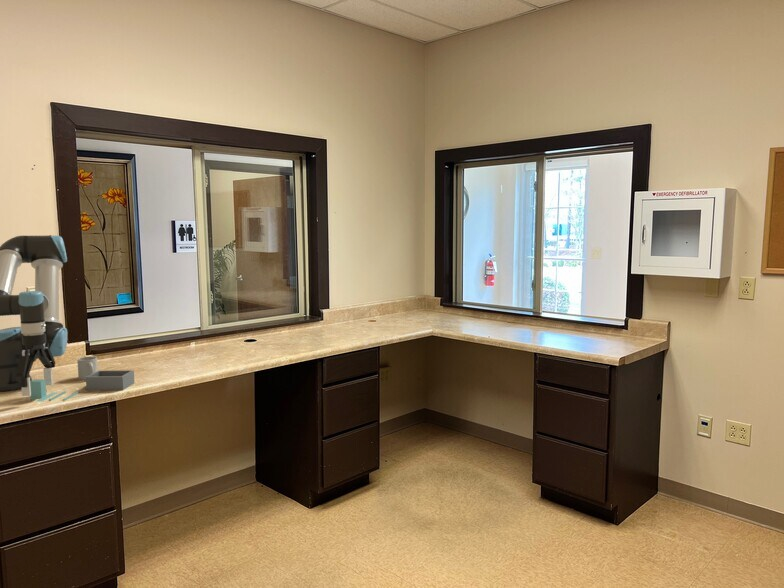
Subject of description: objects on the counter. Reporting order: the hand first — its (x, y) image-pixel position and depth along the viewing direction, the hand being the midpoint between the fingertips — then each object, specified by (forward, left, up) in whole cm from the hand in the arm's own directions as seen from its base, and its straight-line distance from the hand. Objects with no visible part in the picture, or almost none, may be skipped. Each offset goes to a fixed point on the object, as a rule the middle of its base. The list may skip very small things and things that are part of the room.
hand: (38, 390), depth 208 cm
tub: (+20, +13, -3) cm, 24 cm away
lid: (+8, 0, -3) cm, 8 cm away
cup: (+6, +26, -4) cm, 27 cm away
